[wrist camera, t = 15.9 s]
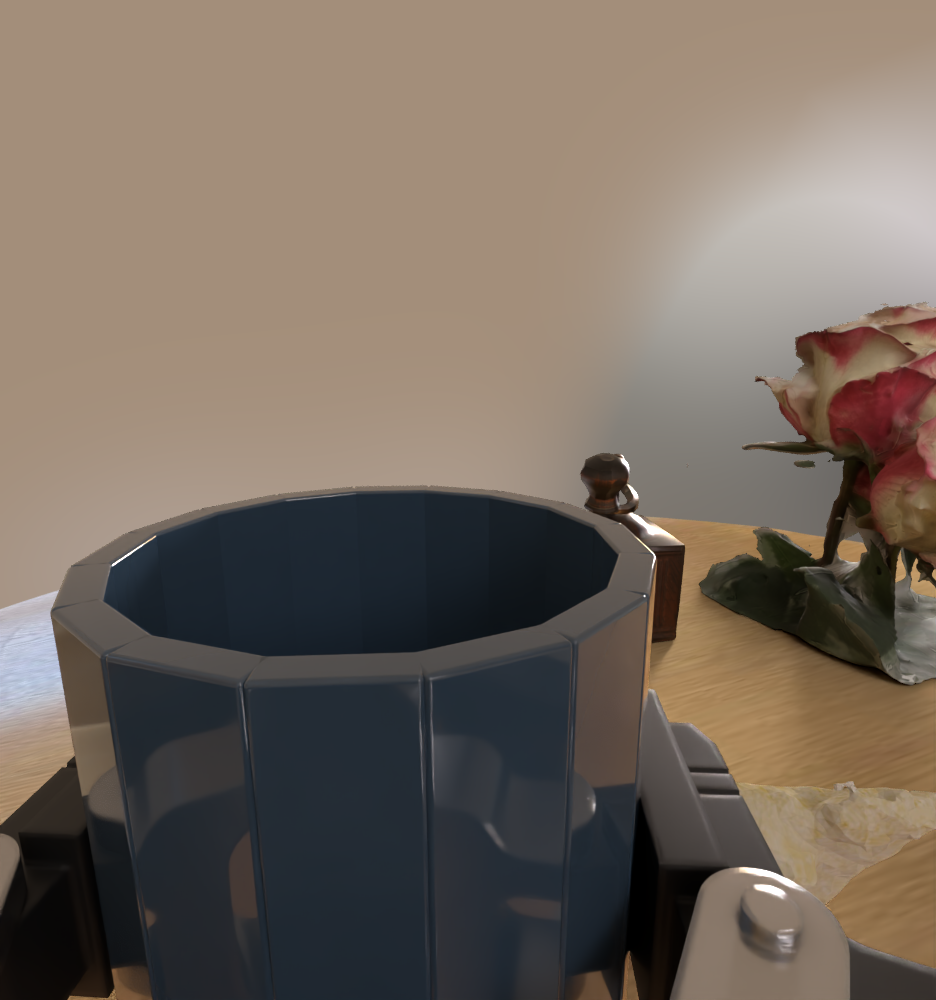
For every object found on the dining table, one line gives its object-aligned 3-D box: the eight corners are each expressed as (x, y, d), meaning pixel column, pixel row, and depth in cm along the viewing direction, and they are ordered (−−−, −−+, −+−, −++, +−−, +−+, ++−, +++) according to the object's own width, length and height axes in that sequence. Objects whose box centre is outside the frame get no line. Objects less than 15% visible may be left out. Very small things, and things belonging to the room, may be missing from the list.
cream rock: (489, 961, 30) (733, 1019, 18) (487, 790, 33) (687, 746, 22) (730, 947, 35) (1033, 984, 24) (705, 803, 39) (956, 773, 27)
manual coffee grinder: (535, 602, 66) (540, 431, 62) (637, 597, 67) (648, 430, 63) (577, 676, 51) (587, 458, 47) (706, 668, 52) (727, 456, 48)
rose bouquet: (968, 723, 45) (1062, 280, 38) (673, 586, 70) (697, 307, 63) (1132, 650, 56) (1229, 295, 49) (825, 554, 81) (859, 313, 74)
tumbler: (680, 1164, 10) (746, 534, 7) (374, 1844, 5) (291, 817, 3) (410, 929, 13) (396, 470, 11) (107, 1205, 9) (-22, 550, 7)
